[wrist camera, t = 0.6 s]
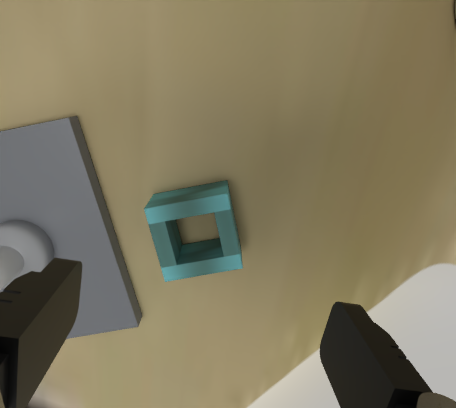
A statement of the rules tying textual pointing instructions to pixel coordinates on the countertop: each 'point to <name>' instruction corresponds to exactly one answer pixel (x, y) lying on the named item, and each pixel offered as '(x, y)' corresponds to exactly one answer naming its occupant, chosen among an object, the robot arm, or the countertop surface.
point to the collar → (199, 251)
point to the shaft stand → (62, 221)
